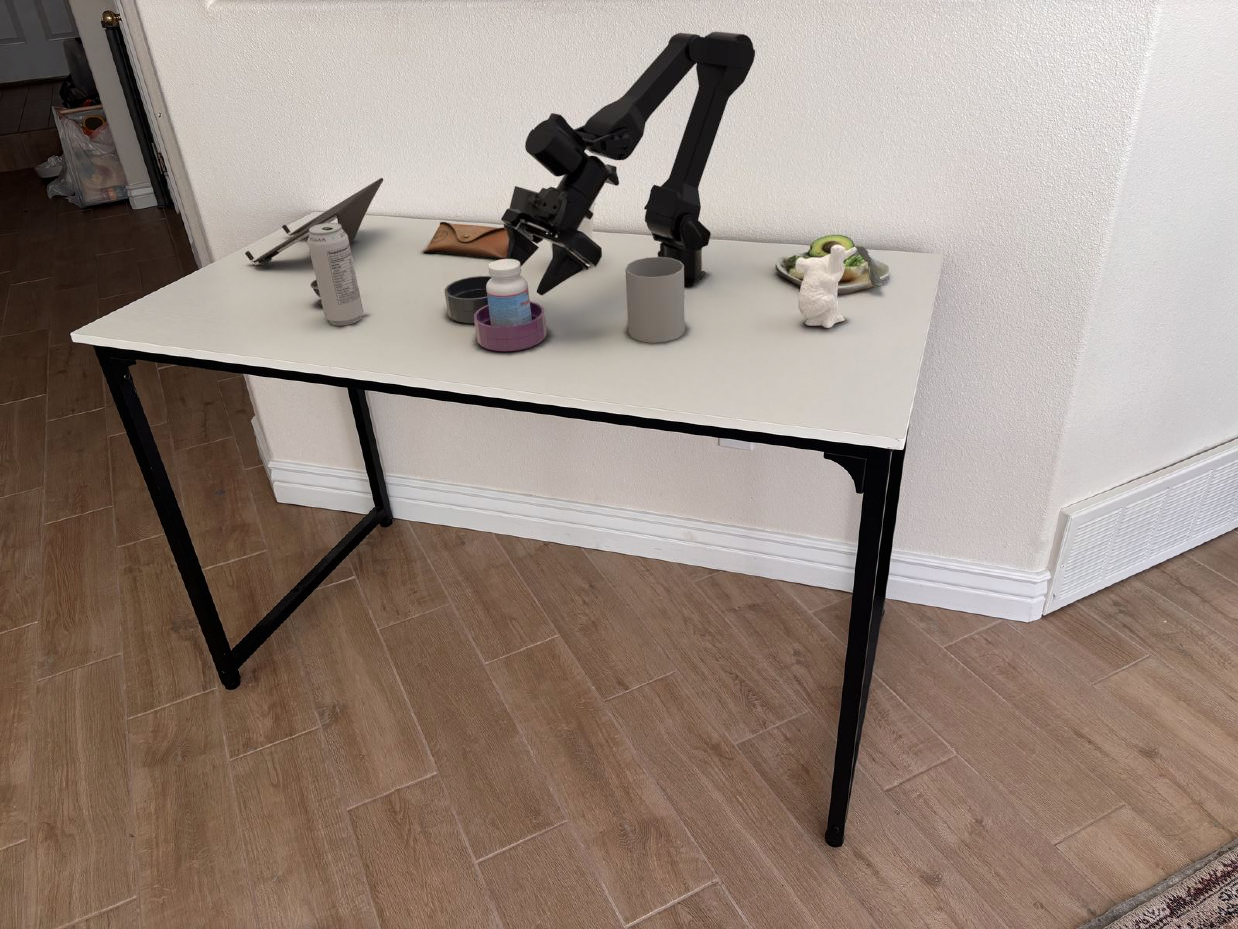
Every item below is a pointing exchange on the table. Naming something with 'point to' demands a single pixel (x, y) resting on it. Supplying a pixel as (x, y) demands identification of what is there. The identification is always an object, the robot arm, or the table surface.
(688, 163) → the robot arm
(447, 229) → the sunglasses case
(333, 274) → the energy drink can
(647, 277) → the cup
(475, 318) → the plum bowl
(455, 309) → the charcoal bowl
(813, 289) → the white figurine
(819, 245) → the salad plate
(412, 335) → the table surface
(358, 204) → the laptop stand
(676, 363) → the table surface
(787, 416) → the table surface
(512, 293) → the pill bottle
